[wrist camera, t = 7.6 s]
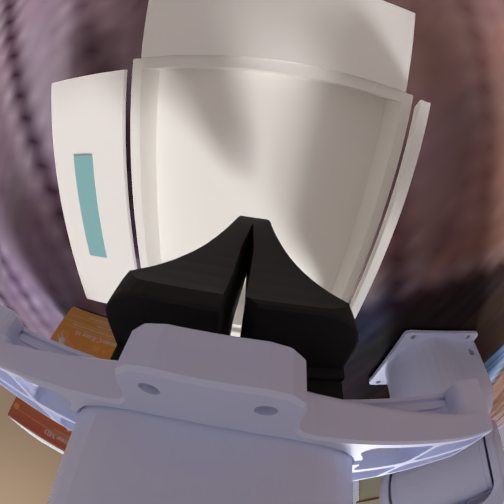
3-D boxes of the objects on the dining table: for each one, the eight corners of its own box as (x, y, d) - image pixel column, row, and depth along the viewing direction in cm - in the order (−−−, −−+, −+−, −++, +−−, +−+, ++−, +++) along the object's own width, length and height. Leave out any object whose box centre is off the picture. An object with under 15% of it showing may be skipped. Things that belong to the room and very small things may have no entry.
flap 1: (50, 83, 9) (55, 82, 9) (86, 299, 17) (88, 295, 17) (123, 69, 9) (127, 69, 9) (142, 312, 17) (144, 308, 17)
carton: (403, 26, 8) (425, 18, 6) (312, 349, 21) (313, 374, 19) (163, -5, 9) (142, -18, 7) (165, 327, 21) (155, 350, 19)
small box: (144, 325, 22) (88, 465, 11) (154, 364, 25) (116, 479, 14) (70, 303, 22) (5, 415, 11) (88, 344, 25) (41, 442, 14)
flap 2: (414, 107, 9) (421, 109, 9) (333, 338, 17) (337, 340, 17) (420, 99, 6) (430, 103, 5) (306, 391, 13) (311, 394, 13)
